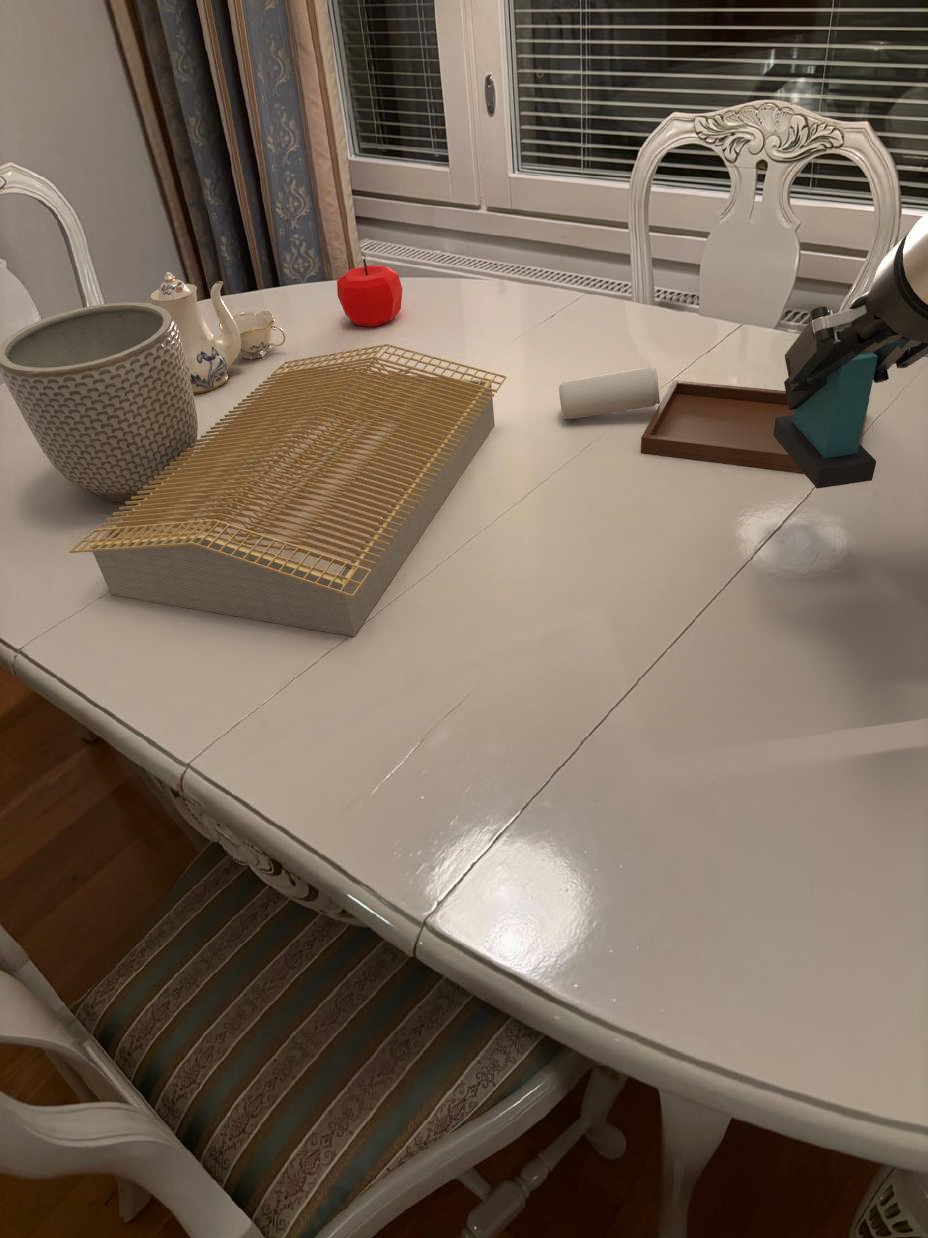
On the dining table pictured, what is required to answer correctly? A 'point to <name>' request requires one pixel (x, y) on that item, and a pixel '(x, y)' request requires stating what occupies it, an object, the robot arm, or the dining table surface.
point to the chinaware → (202, 348)
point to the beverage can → (609, 393)
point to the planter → (104, 394)
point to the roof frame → (265, 582)
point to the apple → (370, 294)
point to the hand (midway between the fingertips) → (810, 392)
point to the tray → (720, 425)
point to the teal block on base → (832, 427)
